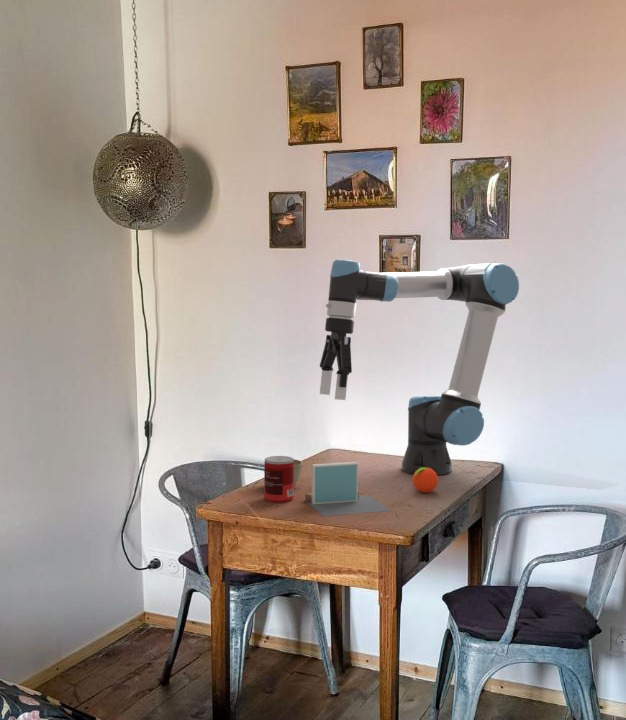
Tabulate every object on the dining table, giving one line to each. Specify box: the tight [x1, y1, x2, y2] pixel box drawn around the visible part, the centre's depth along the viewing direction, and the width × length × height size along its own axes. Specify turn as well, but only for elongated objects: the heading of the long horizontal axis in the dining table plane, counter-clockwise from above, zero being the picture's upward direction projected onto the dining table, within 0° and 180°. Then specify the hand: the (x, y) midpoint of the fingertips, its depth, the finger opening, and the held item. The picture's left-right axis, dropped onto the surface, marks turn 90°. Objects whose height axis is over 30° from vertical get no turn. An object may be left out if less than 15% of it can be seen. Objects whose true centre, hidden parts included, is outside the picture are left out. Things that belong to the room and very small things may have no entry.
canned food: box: [263, 455, 295, 504], centre depth 217 cm, size 8×8×11 cm
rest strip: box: [304, 491, 360, 504], centre depth 216 cm, size 14×2×2 cm, turn 107°
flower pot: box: [293, 458, 303, 487], centre depth 231 cm, size 10×10×7 cm
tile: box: [311, 461, 359, 504], centre depth 214 cm, size 12×2×10 cm, turn 107°
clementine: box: [412, 467, 439, 494], centre depth 226 cm, size 8×7×7 cm
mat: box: [307, 495, 393, 517], centre depth 211 cm, size 18×16×1 cm
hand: (332, 397), depth 222 cm, fingers open, 13 cm apart
